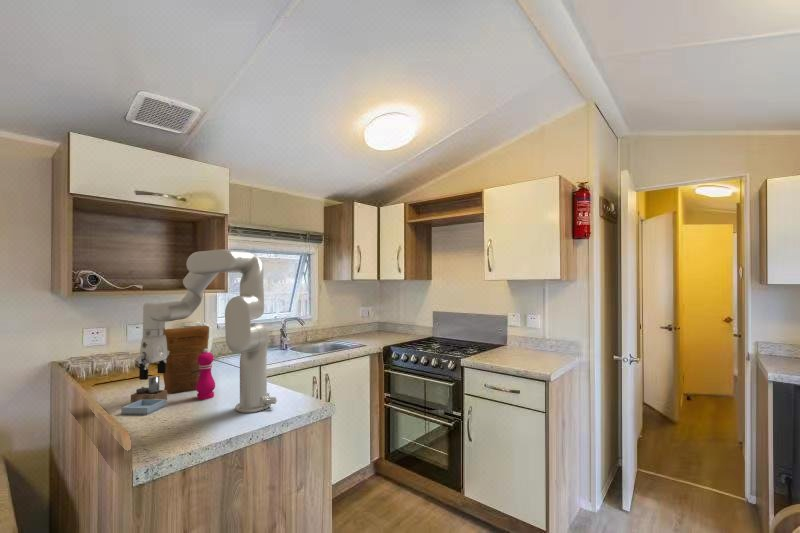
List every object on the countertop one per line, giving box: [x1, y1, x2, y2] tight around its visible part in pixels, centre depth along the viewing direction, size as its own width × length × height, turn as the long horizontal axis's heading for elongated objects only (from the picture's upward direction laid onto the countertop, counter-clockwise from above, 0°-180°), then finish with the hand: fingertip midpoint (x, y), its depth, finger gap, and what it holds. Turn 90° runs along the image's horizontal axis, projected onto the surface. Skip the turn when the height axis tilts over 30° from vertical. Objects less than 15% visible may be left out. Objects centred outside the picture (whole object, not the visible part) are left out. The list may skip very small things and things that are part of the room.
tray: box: [121, 398, 168, 416], centre depth 146 cm, size 10×10×2 cm
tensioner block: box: [130, 386, 168, 404], centre depth 155 cm, size 10×7×6 cm
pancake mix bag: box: [162, 325, 210, 394], centre depth 171 cm, size 7×19×28 cm, turn 120°
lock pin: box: [148, 375, 160, 394], centre depth 155 cm, size 4×4×10 cm
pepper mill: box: [195, 349, 216, 400], centre depth 161 cm, size 7×7×20 cm
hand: (152, 376), depth 155 cm, fingers open, 9 cm apart
